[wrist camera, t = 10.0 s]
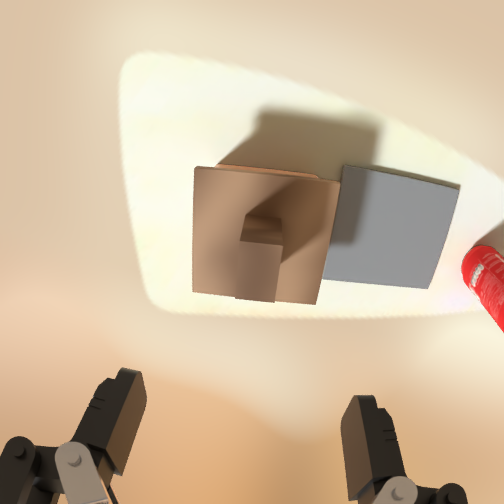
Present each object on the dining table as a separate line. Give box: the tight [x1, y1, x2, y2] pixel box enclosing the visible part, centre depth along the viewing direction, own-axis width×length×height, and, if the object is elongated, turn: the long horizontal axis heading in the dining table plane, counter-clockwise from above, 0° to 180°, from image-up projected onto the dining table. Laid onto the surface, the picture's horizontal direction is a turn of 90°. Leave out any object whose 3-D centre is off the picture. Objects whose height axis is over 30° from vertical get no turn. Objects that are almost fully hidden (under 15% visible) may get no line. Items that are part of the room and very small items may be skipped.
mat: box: [322, 165, 459, 289], centre depth 28 cm, size 12×11×1 cm
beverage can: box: [461, 245, 504, 332], centre depth 24 cm, size 5×5×12 cm
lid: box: [192, 166, 340, 305], centre depth 22 cm, size 10×10×5 cm
